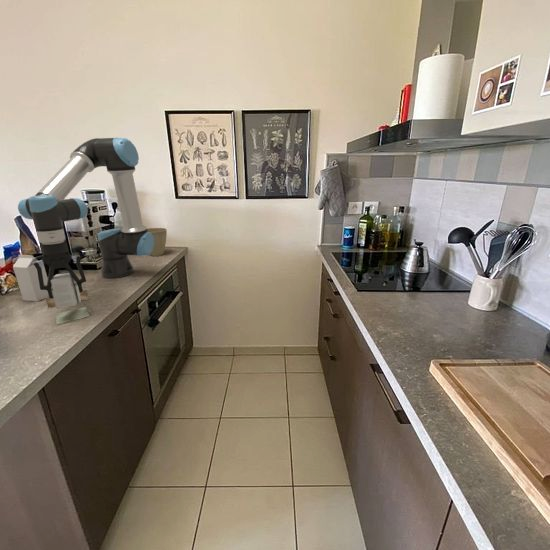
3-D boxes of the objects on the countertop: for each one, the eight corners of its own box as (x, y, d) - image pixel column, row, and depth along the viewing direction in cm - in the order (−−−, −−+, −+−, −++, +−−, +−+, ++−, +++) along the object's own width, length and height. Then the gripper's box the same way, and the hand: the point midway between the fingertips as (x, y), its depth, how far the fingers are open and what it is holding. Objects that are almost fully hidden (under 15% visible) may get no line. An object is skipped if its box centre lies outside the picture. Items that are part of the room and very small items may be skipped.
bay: (88, 298, 128) (86, 289, 127) (95, 315, 113) (93, 305, 112) (48, 307, 120) (45, 297, 119) (50, 326, 105) (47, 316, 104)
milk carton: (37, 301, 125) (24, 258, 119) (23, 300, 126) (9, 257, 120) (52, 295, 132) (40, 253, 125) (39, 294, 133) (26, 252, 127)
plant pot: (161, 258, 184) (157, 232, 179) (139, 257, 188) (135, 231, 182) (174, 252, 198) (171, 228, 193) (154, 250, 201) (150, 227, 196)
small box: (62, 300, 114) (55, 274, 110) (79, 298, 116) (73, 272, 112) (57, 308, 107) (49, 280, 103) (75, 305, 109) (68, 278, 105)
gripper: (16, 248, 95) (36, 314, 103) (87, 239, 106) (100, 299, 114) (17, 244, 101) (35, 306, 108) (84, 236, 112) (96, 293, 119)
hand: (68, 303), depth 111 cm, fingers closed on small box, 6 cm apart
